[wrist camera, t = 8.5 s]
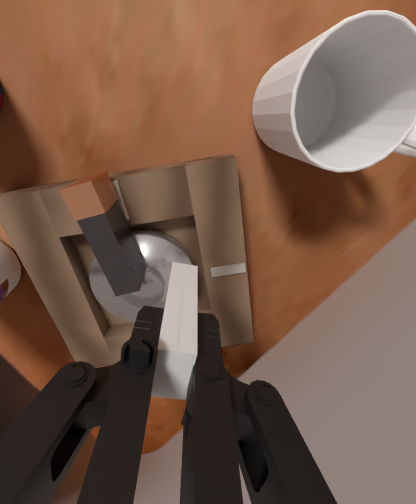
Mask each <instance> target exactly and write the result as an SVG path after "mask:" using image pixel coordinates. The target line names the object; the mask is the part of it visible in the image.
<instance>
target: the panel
mask: <svg viewBox="0 0 416 504" xmlns="http://www.w3.org/2000/svg"><path fill="white" fill-rule="evenodd" d="M109 177H110V179H111V182H112V184H113V186H114V189H115V191H116V193H117V196H118V201H119V203H120V206H121V208H122V211H123V213H124V215H125V218H126V220H127V222H128V225H129V227H130V229H134V228H150V229H156V230H160V231H163V232H165V233H167V234H170V235H171V236H173V237H175V238H176V239H177V240H179V241H180V242H181V243H182V244H183V245H184V246H185V247H186V248H187V250H188V251H189V253H190V254H191V256H192V258H193V261H194V265H195V266H198V284H197V312H199V313H206V314H214V315H215V317H216V318H217V320H218V321H219V328H220V338H221V347H226V346H232V345H238V344H245V343H251V342H254V337H253V327H252V317H251V306H250V296H249V285H248V275H247V264H246V254H245V243H244V233H243V223H242V212H241V202H240V191H239V181H238V170H237V160H236V157H235V156H233V155H232V154H227V155H221V156H215V157H209V158H203V159H197V160H191V161H185V162H179V163H173V164H167V165H161V166H155V167H149V168H143V169H137V170H131V171H125V172H119V173H113V174H109ZM77 180H78V179H77ZM75 181H76V180H71V181H65V182H59V183H53V184H47V185H41V186H35V187H29V188H23V189H17V190H11V191H7V192H4V193H2V194H0V223H1V225H2V227H3V229H4V230H5V232H6V234H7V236H8V238H9V240H10V241H11V243H12V245H13V247H14V249H15V251H16V253H17V254H18V256H19V258H20V260H21V262H22V264H23V266H24V267H25V269H26V271H27V273H28V275H29V277H30V278H31V280H32V282H33V284H34V286H35V288H36V290H37V291H38V293H39V295H40V297H41V299H42V301H43V303H44V304H45V306H46V308H47V310H48V312H49V314H50V315H51V317H52V319H53V321H54V323H55V325H56V327H57V328H58V330H59V332H60V334H61V336H62V338H63V340H64V341H65V343H66V345H67V347H68V349H69V351H70V353H71V354H72V356H73V358H74V360H75V362H78V361H83V362H88V363H90V364H91V365H93V366H94V368H95V367H101V366H107V365H113V364H115V363H117V362H118V361H120V358H121V348H122V346H123V344H124V343H125V342H126V341H128V340H129V339H130V337H131V334H132V330H133V328H134V324H135V323H133V322H129V321H126V320H123V319H121V318H118V317H116V316H115V315H113V314H111V313H110V312H108V311H107V310H106V309H105V308H104V307H103V306H102V305H101V304H100V303H99V302H98V301H97V299H96V297H95V296H94V294H93V292H92V289H91V286H90V279H89V278H90V268H91V265H92V262H93V260H94V259H95V255H94V253H93V251H92V249H91V247H90V245H89V243H88V241H87V239H86V238H85V236H84V234H83V232H82V230H81V228H80V226H79V224H78V222H77V221H75V220H74V218H73V216H72V215H71V213H70V211H69V209H68V207H67V205H66V203H65V201H64V199H63V197H62V195H61V193H60V191H59V190H60V189H62V188H64V187H65V186H67V185H69V184H71V183H73V182H75Z"/></svg>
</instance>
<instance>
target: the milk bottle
mask: <svg viewBox="0 0 416 504" xmlns="http://www.w3.org/2000/svg"><path fill="white" fill-rule="evenodd" d="M20 277H21V265H20V261H19V260H18V258H17V256H16V254H15V253H14V252H13V250H12V249H10V248H9V247H8V246H7V245H6V244H5V243H3V242H2V241H0V302H1V301H2V300H3V299H4V298H5V297H6V296H7V295H8V294H9V293H10V292H11V291H12V290H13V289H14V288H15V286H16V285H17V284H18V282H19V280H20Z"/></svg>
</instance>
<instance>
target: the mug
mask: <svg viewBox="0 0 416 504" xmlns="http://www.w3.org/2000/svg"><path fill="white" fill-rule="evenodd" d="M252 117H253V122H254V127H255V129H256V131H257V133H258V136H259V138H260V139H261V140H262V141H263V142H264V143H265V144H266V146H268V147H270V148H271V149H273V150H274V151H276V152H279V153H282V154H284V155H287V156H290V157H292V158H295V159H298V160H300V161H303V162H306V163H308V164H311V165H314V166H316V167H319V168H322V169H325V170H329V171H333V172H337V173H339V172H355V171H358V170H361V169H364V168H368V167H370V166H372V165H374V164H376V163H377V162H379V161H381V160H383V159H384V158H386V157H387V156H388V155H389V154H390V153H392V152H395V153H398V154H402V155H406V156H410V157H415V158H416V27H415V26H414V25H413V24H412V23H411V22H410V21H409V20H408V19H407V18H406V17H404V16H401V15H399V14H396V13H393V12H391V11H388V10H380V11H365V12H362V13H359V14H357V15H354V16H351V17H348V18H346V19H344V20H343V21H341V22H340V23H338V24H337V25H335V26H333V27H332V28H330V29H329V30H327V31H326V32H324V33H322V34H321V35H319V36H318V37H316V38H314V39H313V40H311V41H310V42H308V43H307V44H305V45H303V46H302V47H300V48H299V49H297V50H296V51H294V52H292V53H291V54H289V55H288V56H286V57H285V58H283V59H282V60H280V61H279V62H277V63H276V64H274V65H273V66H272V67H271V68H270V69H269V70H268V71H267V72H266V74H265V75H264V76H263V77H262V79H261V81H260V83H259V85H258V87H257V89H256V92H255V96H254V100H253V109H252Z"/></svg>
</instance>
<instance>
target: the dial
mask: <svg viewBox="0 0 416 504" xmlns="http://www.w3.org/2000/svg"><path fill="white" fill-rule="evenodd" d="M59 191H60V193H61V195H62V197H63V199H64V201H65V203H66V205H67V207H68V209H69V211H70V213H71V215H72V216H73V218H74V220H75V221H77V222H78V224H79V226H80V228H81V230H82V232H83V234H84V236H85V238H86V239H87V241H88V243H89V245H90V247H91V249H92V251H93V253H94V255H95V259H94V260H93V262H92V265H91V268H90V278H89V279H90V286H91V289H92V292H93V294H94V296H95V297H96V299H97V301H98V302H99V303H100V304H101V305H102V306H103V307H104V308H105V309H106V310H107V311H108V312H110V313H111V314H113V315H115V316H116V317H118V318H121V319H123V320H126V321H129V322H133V323H135V321H136V317H137V314H138V311H139V310H140V309H141V308H142V307H143V306H144V305H145V306H152V307H159V308H165V303H166V297H167V291H168V285H169V279H170V274H171V268H172V262H176V263H182V264H188V265H194V261H193V258H192V256H191V254H190V253H189V251H188V250H187V248H186V247H185V246H184V245H183V244H182V243H181V242H180V241H179V240H177V239H176V238H175V237H173V236H171V235H170V234H167V233H165V232H163V231H160V230H156V229H150V228H134V229H130V227H129V225H128V222H127V220H126V218H125V215H124V213H123V211H122V208H121V206H120V203H119V201H118V196H117V193H116V191H115V189H114V186H113V184H112V182H111V179H110V177H109V174H108V172H107V171H105V172H101V173H98V174H94V175H91V176H87V177H83V178H80V179H78V180H76V181H75V182H73V183H71V184H69V185H67V186H65V187H64V188H62V189H60V190H59ZM194 266H195V265H194Z"/></svg>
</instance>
